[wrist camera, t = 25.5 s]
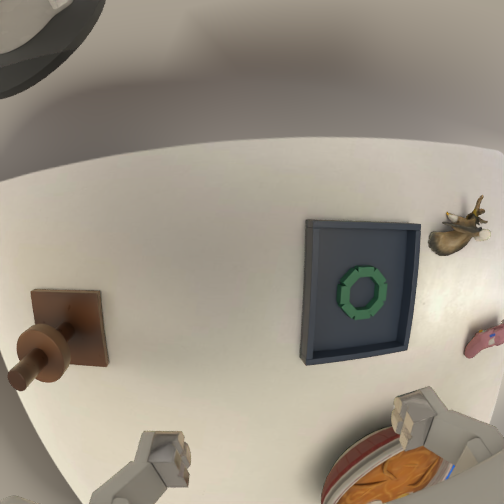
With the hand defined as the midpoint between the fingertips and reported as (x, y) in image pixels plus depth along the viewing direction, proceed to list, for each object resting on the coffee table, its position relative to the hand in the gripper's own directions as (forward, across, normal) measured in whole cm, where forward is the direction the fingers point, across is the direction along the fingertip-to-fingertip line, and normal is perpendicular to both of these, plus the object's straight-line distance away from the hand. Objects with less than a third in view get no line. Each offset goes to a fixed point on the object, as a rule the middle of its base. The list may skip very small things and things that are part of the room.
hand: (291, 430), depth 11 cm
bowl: (+22, -14, +38) cm, 46 cm away
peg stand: (+22, +23, +6) cm, 32 cm away
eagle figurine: (+30, -28, +3) cm, 41 cm away
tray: (+26, -12, +8) cm, 30 cm away
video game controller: (+28, -37, +22) cm, 51 cm away
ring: (+26, -12, +8) cm, 29 cm away
